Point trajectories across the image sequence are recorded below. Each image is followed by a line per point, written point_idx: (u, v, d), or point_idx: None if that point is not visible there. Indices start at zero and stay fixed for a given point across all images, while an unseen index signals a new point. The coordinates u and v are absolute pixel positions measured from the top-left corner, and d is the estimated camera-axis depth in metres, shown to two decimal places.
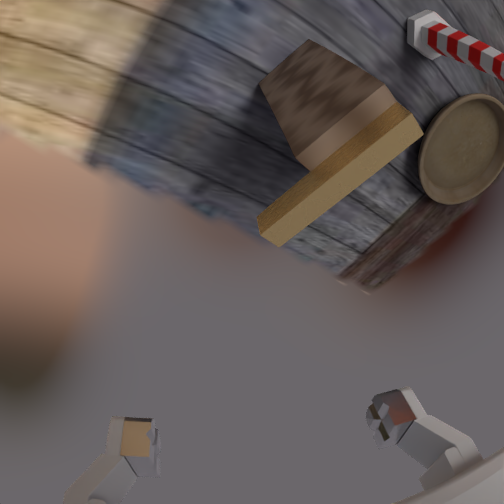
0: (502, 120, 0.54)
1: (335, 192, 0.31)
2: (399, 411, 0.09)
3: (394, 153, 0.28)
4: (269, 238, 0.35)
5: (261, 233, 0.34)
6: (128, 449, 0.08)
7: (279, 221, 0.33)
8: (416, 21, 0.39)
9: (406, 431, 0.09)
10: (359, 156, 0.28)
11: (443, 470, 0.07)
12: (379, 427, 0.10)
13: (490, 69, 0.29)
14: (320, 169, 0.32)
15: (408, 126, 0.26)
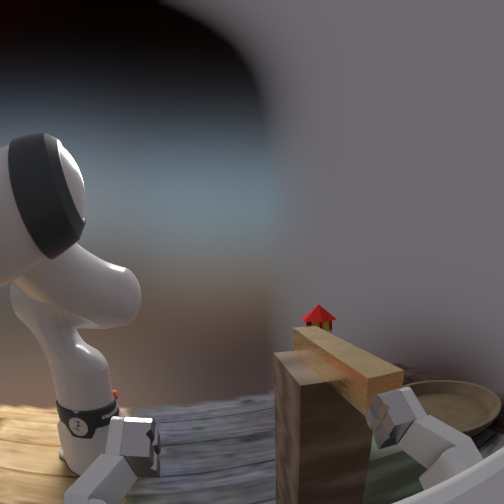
0: None
1: (341, 346, 0.29)
2: (399, 411, 0.09)
3: (322, 331, 0.36)
4: (380, 374, 0.20)
5: (366, 378, 0.20)
6: (128, 449, 0.08)
7: (354, 367, 0.22)
8: None
9: (407, 431, 0.09)
10: (310, 339, 0.33)
11: (443, 470, 0.07)
12: (379, 427, 0.10)
13: None
14: (322, 370, 0.28)
15: (302, 328, 0.38)
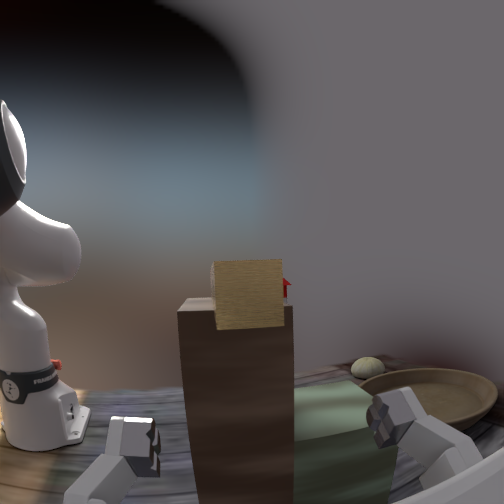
0: (392, 380, 0.66)
1: None
2: (399, 411, 0.09)
3: None
4: None
5: (214, 263, 0.14)
6: (128, 449, 0.08)
7: None
8: None
9: (406, 431, 0.09)
10: None
11: (443, 470, 0.07)
12: (379, 427, 0.10)
13: None
14: None
15: None
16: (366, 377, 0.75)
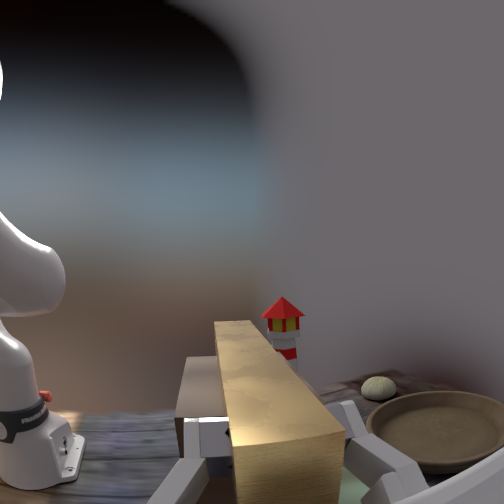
0: (405, 404, 0.59)
1: (253, 354, 0.16)
2: None
3: (250, 328, 0.23)
4: (277, 436, 0.07)
5: (232, 444, 0.07)
6: (209, 450, 0.08)
7: (233, 406, 0.10)
8: None
9: (345, 448, 0.09)
10: (218, 339, 0.20)
11: (380, 496, 0.07)
12: None
13: None
14: (221, 393, 0.16)
15: (226, 323, 0.26)
16: (377, 399, 0.68)
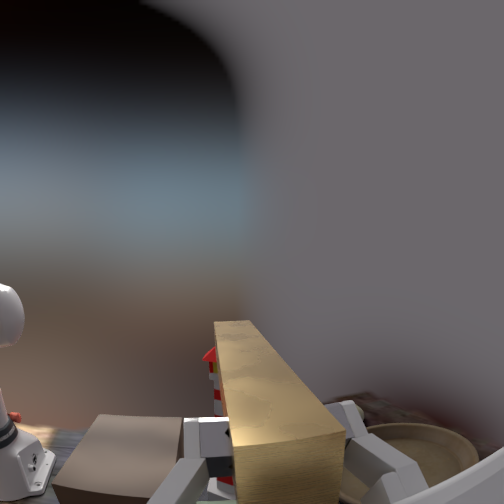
0: None
1: (253, 354, 0.16)
2: None
3: (249, 328, 0.23)
4: (277, 436, 0.07)
5: (232, 444, 0.07)
6: (209, 450, 0.08)
7: (233, 406, 0.10)
8: (209, 489, 0.43)
9: (345, 448, 0.09)
10: (218, 339, 0.20)
11: (380, 496, 0.07)
12: None
13: None
14: (221, 394, 0.16)
15: (226, 323, 0.26)
16: None
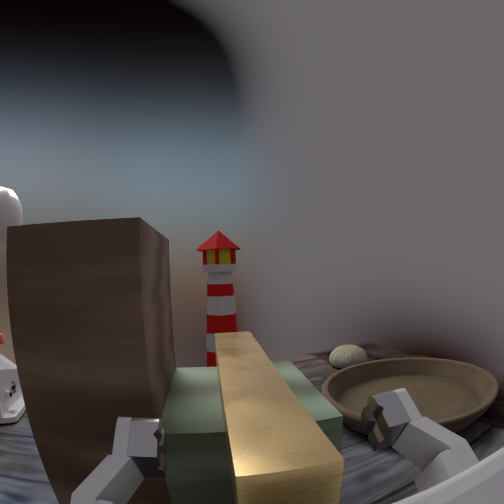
0: (373, 370, 0.59)
1: (254, 372, 0.16)
2: (394, 413, 0.09)
3: (250, 341, 0.23)
4: (277, 465, 0.07)
5: (235, 474, 0.07)
6: (135, 450, 0.08)
7: (234, 432, 0.09)
8: None
9: (401, 433, 0.09)
10: (218, 353, 0.20)
11: (438, 472, 0.07)
12: (374, 429, 0.10)
13: (219, 299, 0.45)
14: (222, 410, 0.16)
15: (226, 335, 0.26)
16: (345, 367, 0.68)
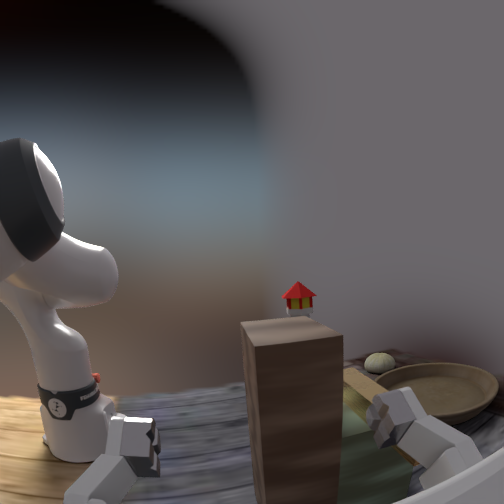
0: (403, 374, 0.72)
1: None
2: (399, 411, 0.09)
3: (362, 376, 0.36)
4: None
5: None
6: (128, 449, 0.08)
7: None
8: None
9: (406, 431, 0.09)
10: (354, 388, 0.33)
11: (443, 470, 0.07)
12: (379, 427, 0.10)
13: None
14: None
15: None
16: (378, 372, 0.81)
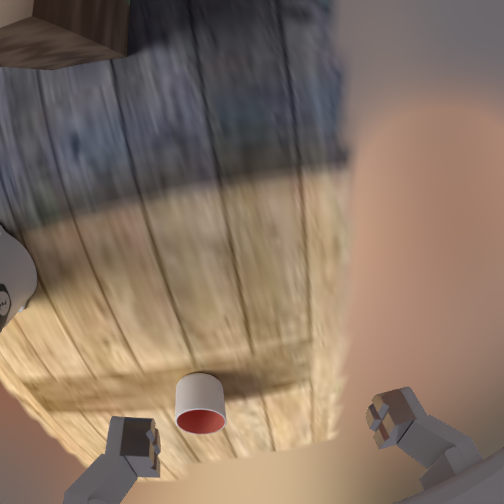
0: None
1: None
2: (399, 411, 0.09)
3: None
4: None
5: None
6: (128, 449, 0.08)
7: None
8: None
9: (406, 431, 0.09)
10: None
11: (443, 470, 0.07)
12: (379, 427, 0.10)
13: None
14: None
15: None
16: None
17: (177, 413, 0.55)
